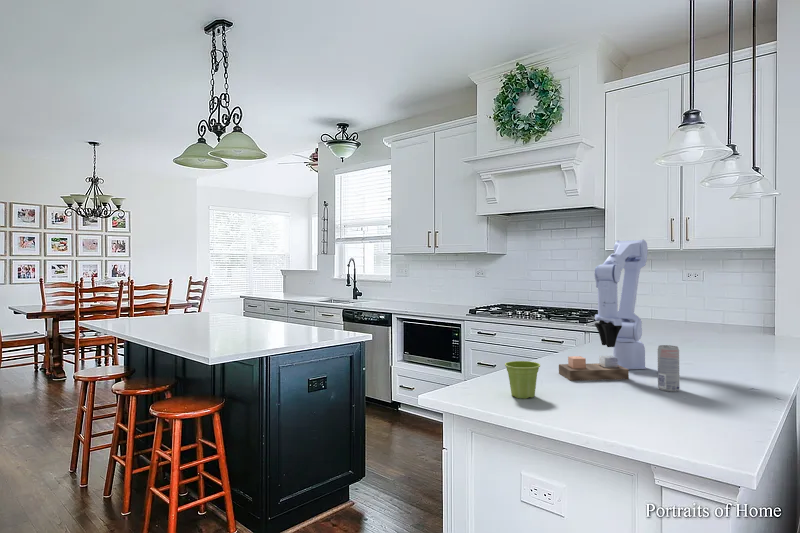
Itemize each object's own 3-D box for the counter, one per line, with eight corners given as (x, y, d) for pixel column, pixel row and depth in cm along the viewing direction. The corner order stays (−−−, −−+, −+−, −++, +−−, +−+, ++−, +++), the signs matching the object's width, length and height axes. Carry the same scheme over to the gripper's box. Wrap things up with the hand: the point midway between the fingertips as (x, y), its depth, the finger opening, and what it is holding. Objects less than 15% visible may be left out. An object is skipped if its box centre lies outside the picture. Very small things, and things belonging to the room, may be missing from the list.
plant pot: (502, 399, 137) (502, 366, 137) (507, 390, 146) (507, 359, 146) (539, 401, 134) (538, 368, 134) (542, 393, 143) (541, 361, 143)
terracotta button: (580, 365, 164) (580, 356, 164) (585, 368, 160) (585, 358, 160) (568, 366, 164) (568, 356, 164) (573, 368, 160) (572, 358, 160)
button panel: (613, 372, 168) (613, 363, 168) (628, 379, 158) (628, 369, 158) (558, 373, 167) (558, 364, 167) (570, 380, 157) (570, 370, 157)
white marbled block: (611, 365, 164) (611, 355, 164) (617, 367, 160) (617, 357, 160) (599, 365, 164) (599, 355, 164) (604, 367, 160) (604, 358, 160)
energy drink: (674, 387, 147) (674, 345, 147) (682, 391, 142) (682, 348, 142) (654, 387, 148) (654, 345, 148) (662, 391, 142) (662, 348, 142)
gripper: (585, 301, 169) (586, 342, 169) (605, 304, 155) (605, 350, 155) (607, 300, 170) (607, 342, 170) (628, 304, 155) (628, 349, 155)
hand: (608, 346), depth 162 cm, fingers open, 3 cm apart
